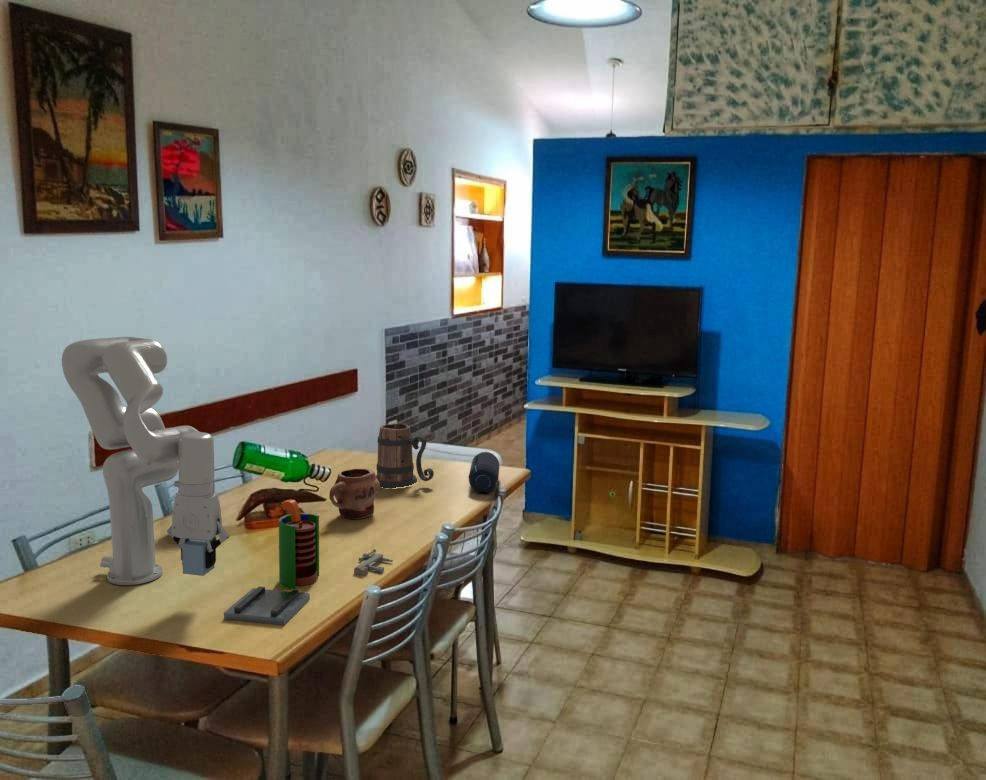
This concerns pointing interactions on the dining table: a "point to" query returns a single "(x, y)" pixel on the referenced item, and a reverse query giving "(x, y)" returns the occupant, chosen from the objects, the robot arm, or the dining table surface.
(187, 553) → the slate grey block
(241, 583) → the dining table surface
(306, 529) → the motor
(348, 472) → the clay mug
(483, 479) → the portable speaker
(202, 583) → the dining table surface
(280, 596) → the mounting bracket
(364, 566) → the clamp
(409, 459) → the tankard
